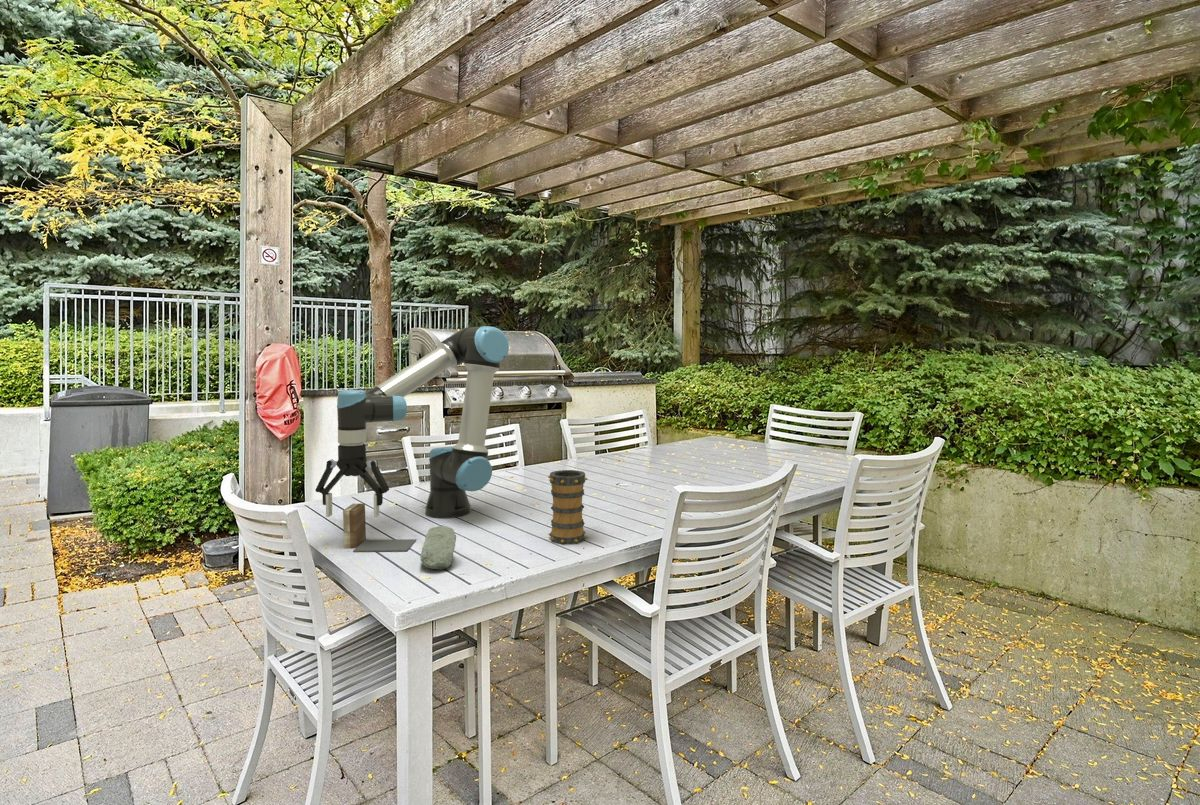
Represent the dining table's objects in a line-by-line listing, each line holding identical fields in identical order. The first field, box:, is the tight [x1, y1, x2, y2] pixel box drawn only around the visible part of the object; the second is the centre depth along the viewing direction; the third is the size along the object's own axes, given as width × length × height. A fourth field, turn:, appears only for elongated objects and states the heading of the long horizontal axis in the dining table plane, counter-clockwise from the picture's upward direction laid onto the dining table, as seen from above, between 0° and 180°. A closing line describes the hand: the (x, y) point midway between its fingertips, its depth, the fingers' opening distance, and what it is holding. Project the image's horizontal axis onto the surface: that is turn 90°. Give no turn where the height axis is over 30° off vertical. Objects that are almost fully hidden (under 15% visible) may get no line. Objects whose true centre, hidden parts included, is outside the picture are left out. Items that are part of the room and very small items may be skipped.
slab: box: [342, 503, 367, 549], centre depth 182 cm, size 4×8×11 cm, turn 2°
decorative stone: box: [420, 524, 457, 570], centre depth 166 cm, size 13×11×10 cm
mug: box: [547, 469, 589, 545], centre depth 189 cm, size 13×17×20 cm
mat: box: [352, 538, 417, 553], centre depth 180 cm, size 15×10×1 cm, turn 92°
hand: (352, 516), depth 181 cm, fingers open, 13 cm apart
